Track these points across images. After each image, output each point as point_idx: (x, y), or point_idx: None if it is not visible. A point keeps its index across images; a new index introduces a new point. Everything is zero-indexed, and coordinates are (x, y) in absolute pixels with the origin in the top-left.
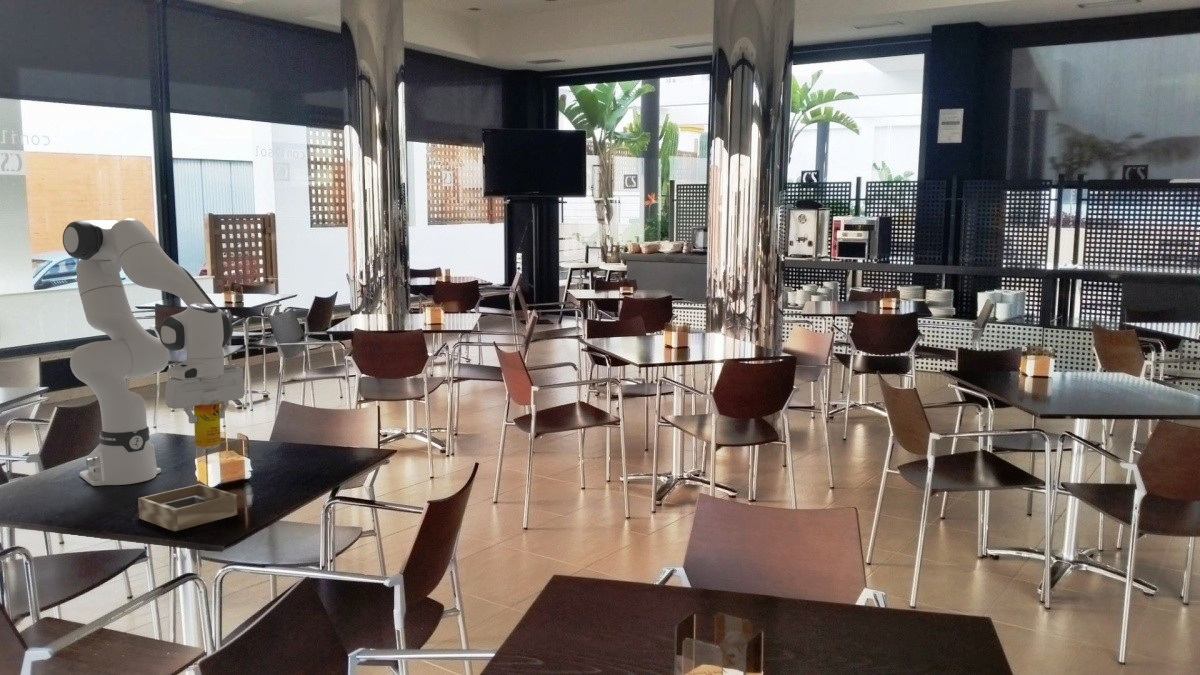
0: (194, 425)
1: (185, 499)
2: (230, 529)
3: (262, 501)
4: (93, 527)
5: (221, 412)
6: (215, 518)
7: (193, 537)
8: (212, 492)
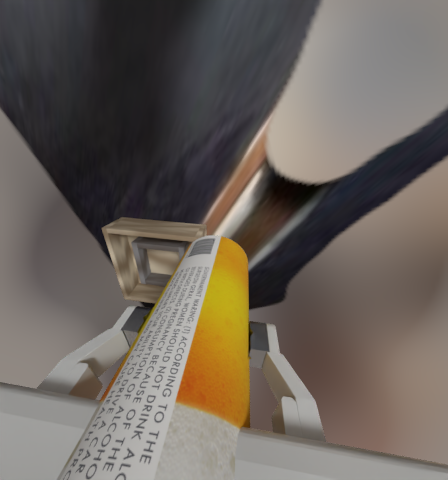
0: (164, 288)
1: (166, 250)
2: None
3: (256, 278)
4: (69, 203)
5: (256, 366)
6: None
7: (145, 304)
8: None
